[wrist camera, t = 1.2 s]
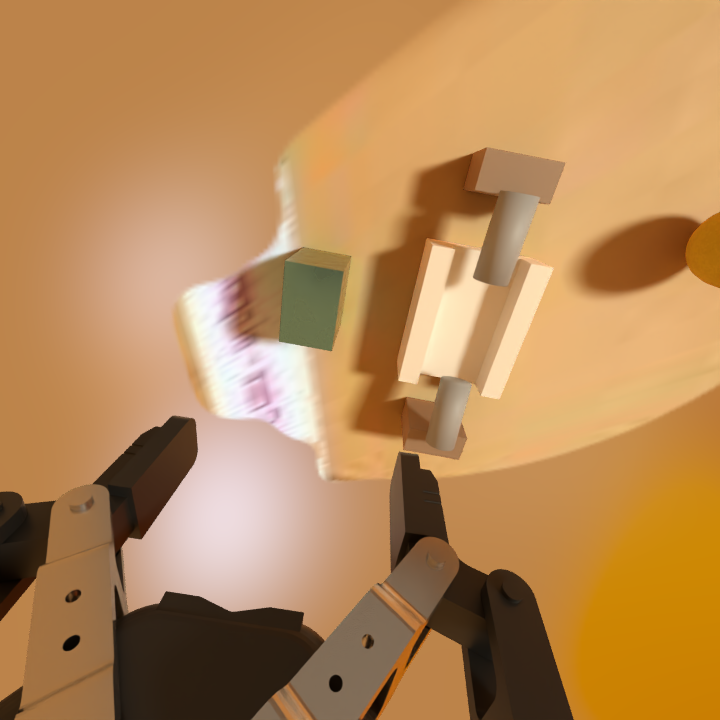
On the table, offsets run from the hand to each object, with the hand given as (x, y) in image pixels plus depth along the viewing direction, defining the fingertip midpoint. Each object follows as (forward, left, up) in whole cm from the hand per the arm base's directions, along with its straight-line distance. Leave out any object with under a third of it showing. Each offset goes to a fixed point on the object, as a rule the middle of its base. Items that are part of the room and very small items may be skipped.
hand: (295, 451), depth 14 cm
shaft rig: (-1, +10, -19) cm, 21 cm away
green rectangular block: (-1, -2, -19) cm, 19 cm away
